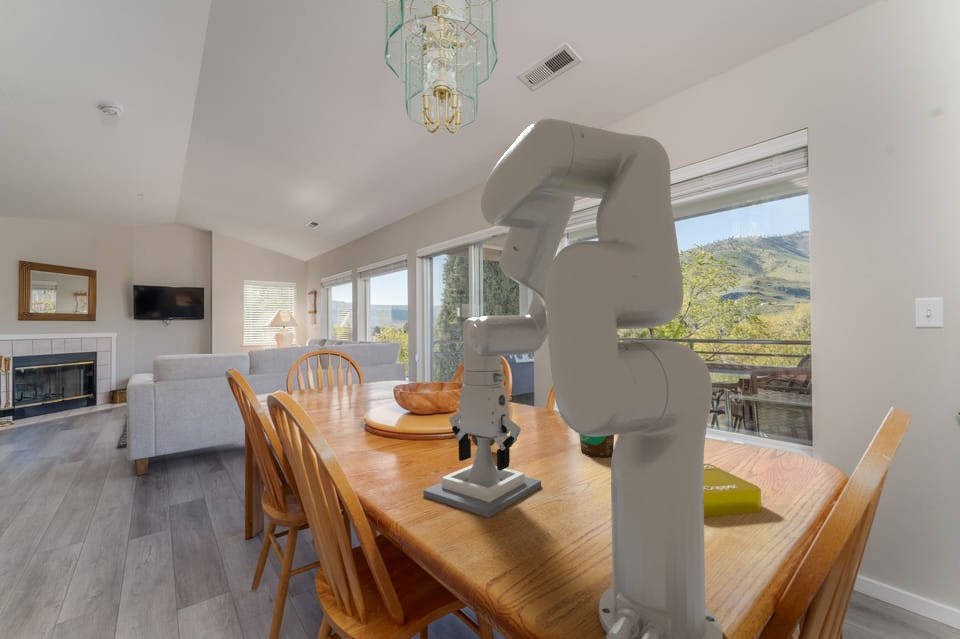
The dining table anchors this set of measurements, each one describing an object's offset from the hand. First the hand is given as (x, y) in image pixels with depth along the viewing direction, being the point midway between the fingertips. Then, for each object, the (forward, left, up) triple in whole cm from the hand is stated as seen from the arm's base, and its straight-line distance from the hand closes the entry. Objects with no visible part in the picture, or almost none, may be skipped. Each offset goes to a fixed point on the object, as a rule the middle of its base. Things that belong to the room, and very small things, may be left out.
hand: (483, 463), depth 87 cm
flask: (0, 0, -4) cm, 5 cm away
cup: (+21, +16, -6) cm, 27 cm away
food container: (+36, -7, -6) cm, 37 cm away
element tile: (+22, -35, -6) cm, 42 cm away
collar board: (0, 0, -6) cm, 6 cm away
